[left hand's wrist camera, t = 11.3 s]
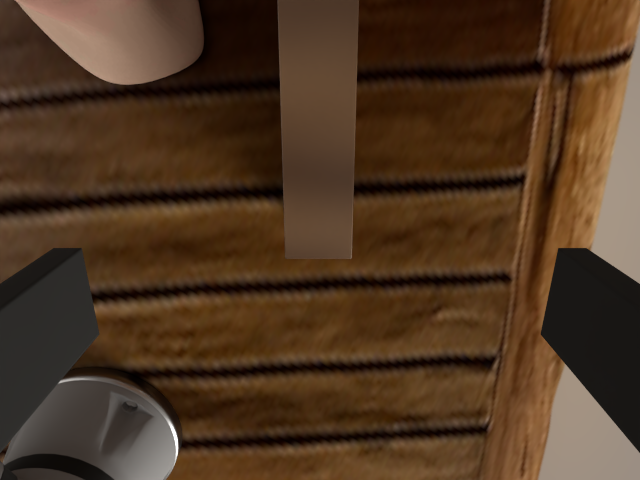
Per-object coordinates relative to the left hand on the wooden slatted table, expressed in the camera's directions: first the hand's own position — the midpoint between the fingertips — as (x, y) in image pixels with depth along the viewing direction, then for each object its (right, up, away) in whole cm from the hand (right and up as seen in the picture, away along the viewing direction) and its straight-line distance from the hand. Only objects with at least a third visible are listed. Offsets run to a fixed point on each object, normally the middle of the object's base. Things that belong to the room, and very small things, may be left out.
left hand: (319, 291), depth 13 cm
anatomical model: (-15, +19, +19) cm, 30 cm away
